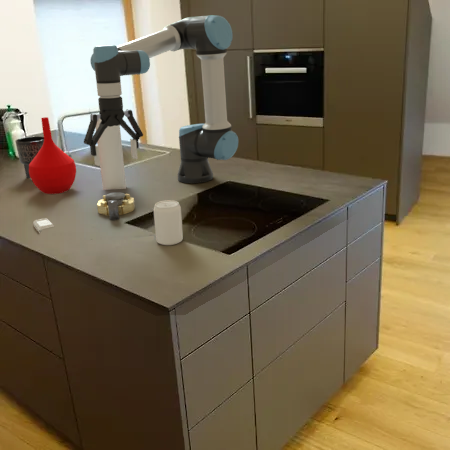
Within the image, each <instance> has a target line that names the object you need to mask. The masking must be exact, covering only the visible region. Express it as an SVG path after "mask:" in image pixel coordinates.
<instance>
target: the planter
mask: <svg viewBox="0 0 450 450" xmlns="http://www.w3.org/2000/svg"><path fill="white" fill-rule="evenodd" d="M43 143H44V136H40V135H38V136H37V135H35V136H27V137H26V136H25V137H20V138H17V139H16V140H15V146H16V151H17V155H18V159H19V162H20V163H21V164H23V167H24V172H25V177H26V178H27V179H31V178H30V175H29V164H30V163H31V161H32V160H33V159H34V157H35V156H36V155H37V153H38V152H39V150H40V149H41V147H42V146H43Z"/></svg>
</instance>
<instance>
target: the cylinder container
mask: <svg viewBox="0 0 450 450" xmlns="http://www.w3.org/2000/svg"><path fill="white" fill-rule="evenodd" d="M101 121H102V120H101V119H100V118H99V120H98V121H97V125H96V128H95V131H96V130H97V129H98V127H99V124H100V123H101ZM96 145H97V146H98V147H99V156H100V165H101V166H99V167H100V175H101V176H100V177H101V184H102V190H103V191H110V190H126V189H127V181H126V172H125V163H124V161H125V160H124V152H123V143H122V135H121V125H118V126H115V125H114V126H111V127H109V126H108V127H107V128H106V129H105V130H104V132H103V134H102V135H101V137H100V139H99V140H98V142H97V144H96Z"/></svg>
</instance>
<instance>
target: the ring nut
mask: <svg viewBox="0 0 450 450" xmlns="http://www.w3.org/2000/svg"><path fill="white" fill-rule="evenodd" d="M124 194H125V197H124V200H123V201H122V204H121V205H118V202H117V200H111V201H108V200H107V199H106V198H105V195H106V194H105V195H102V199H99V200H98V201H97V204H96V206H97V214H101V215H103V216H106V217H108V216H109V220H110V221H117V220H119V219H120V216H122V215H126V214H128V213H132V212H134V211H135V208H136V205H135V198H134V197H132V196H131V195H130V193H124Z"/></svg>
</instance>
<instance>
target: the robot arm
mask: <svg viewBox="0 0 450 450" xmlns="http://www.w3.org/2000/svg"><path fill="white" fill-rule="evenodd" d="M232 41H233V29H232V27H231V24H230V22H229V20H227V19H226V18H225V17H224V16H221V15H216V14H215V15H213V14H210V15H201V16H189V17H188V16H187V17H185V18H183V19H179V20H178V21H175V22H172V23H170V24H167V25H165V26H164V27H163V28H162V29H161V30H159V31H156V32H154V33H151V34H148V35H146V36H145V35H144V36H142V37H139V38H137V39H134V40H130V41H129V42H125V43H123V44H119V45H115V44H113V45H111V44H110V45H107V44H106V45H96V46H94V47H93V49H92V51H93V52H92V54H91V57H90V66H91V69H93V71H94V74H95V80H96V81H95V82H96V92H97V96H98V109H99V113H98V114H97V113H90V115H89V117H90V119H89V120H90V121H89V124H88V128H87V130H86V134H85V137H84V139H83V144H85V145H87V146H89V147H90V156H93V159H94V165H95V166H98V167H100V166H101V165H100V156H99V147H98V144H97V142H98V140H99V139H100V137H101V135H102V134H103V132H104V130H105V129H106V128H107V127H108V126H109V127H111V126H114V125H115V126H118V125H120V127H121V128H122V129H123V130H124V131H125V132H126V133H127V134H128V135H129V136H130V137H131V138H130V139H129V141H130V151H131V152H130V153H131V159H134V160H138V149H139V148H140V147H139V146H140V145H139V140H140V138H141V137H143V136H144V133H143V132H142V130H141V128H140V126H139V124H138V122H137V120H136V119H135V117H134V114H133V110H132V109H126V110H124V109H123V108H124V105H123V104H124V103H123V97H122V96H121V95H122V94H123V93H122V85H121V83H122V82H121V77H123V76H134V75H135V76H136V75H138V76H140V75H141V74H142V75H143V74H146V73H147V72H149V69H150V65H151V59H150V58H153V57H156V56H159V55H161V54H164V53H167V52H169V51H170V52H176V51H179V50H195V55H196V57H197V58H198V59H200V66H201V68H200V69H201V78H202V92H203V104H204V119H205V120H204V121H205V122H204V123H195V124H188V125H184V126H181V127H180V128H179V130H178V142H179V152H180V153H179V155H180V164H179V167H178V171H177V181H179V182H181V183H186V184H201V183H205V182H206V183H207V182H210V181H212V180H213V178H214V173H213V170H212V167H211V164H210V162H209V159H215V160H217V161H221V160H223V161H227V160H229V159H231V158H232V157H233V156H234V155H235V153H236V152H237V150H238V148H239V137H238V135H237V133H236V132H235V131H233V130H232V124H231V123H230V122H229V120H228V112H227V96H226V95H227V94H226V81H225V80H226V79H225V66H224V65H225V63H224V62H225V61H224V57H226V55H227V54H228V48H229V47H230V46H231V45H232ZM124 117H125V118H127V119H126V120H128V122H129V123H130V125H131V127H132V128H131V127H130V126H129V124H127V122H126V121H125V120H124ZM99 118H100V119H101V120H102V121H101V123H100V124H99V127H98V129H97V130H96V125H97V121H98V120H99Z"/></svg>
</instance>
